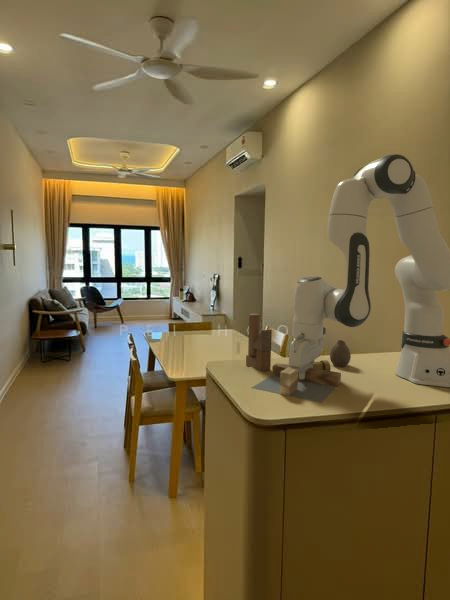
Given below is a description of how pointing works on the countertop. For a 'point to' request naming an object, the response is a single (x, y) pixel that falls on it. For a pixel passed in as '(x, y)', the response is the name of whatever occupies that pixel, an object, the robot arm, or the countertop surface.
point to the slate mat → (304, 389)
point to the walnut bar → (312, 375)
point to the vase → (340, 354)
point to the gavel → (322, 365)
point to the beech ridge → (288, 381)
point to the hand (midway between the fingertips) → (305, 376)
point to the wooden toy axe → (258, 345)
